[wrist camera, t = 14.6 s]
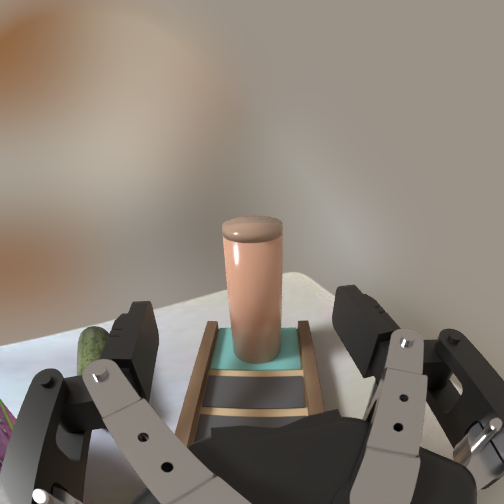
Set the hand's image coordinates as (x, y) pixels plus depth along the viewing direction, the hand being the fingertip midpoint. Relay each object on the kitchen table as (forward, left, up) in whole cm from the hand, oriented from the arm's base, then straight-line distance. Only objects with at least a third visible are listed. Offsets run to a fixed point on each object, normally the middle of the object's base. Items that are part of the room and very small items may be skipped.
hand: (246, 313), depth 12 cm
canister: (0, +14, -14) cm, 20 cm away
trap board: (0, +5, -15) cm, 16 cm away
